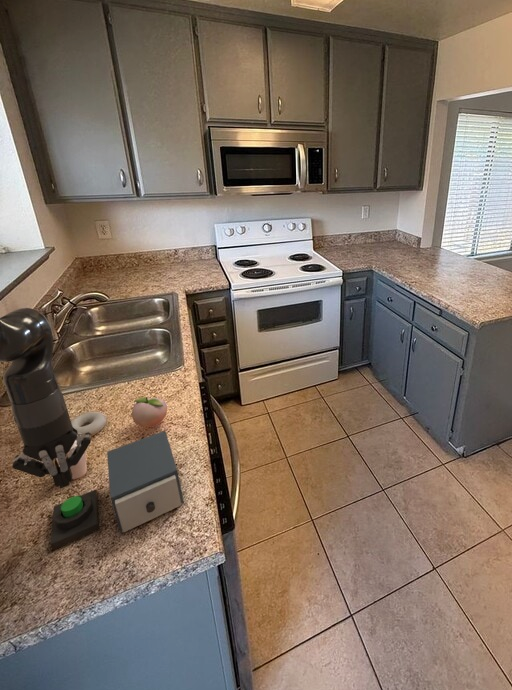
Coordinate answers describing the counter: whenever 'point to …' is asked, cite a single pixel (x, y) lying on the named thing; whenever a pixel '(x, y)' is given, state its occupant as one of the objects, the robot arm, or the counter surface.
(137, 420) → the decorative fruit
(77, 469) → the smoothie
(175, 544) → the counter surface
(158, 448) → the cabinet
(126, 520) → the drawer
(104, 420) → the donut
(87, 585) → the counter surface
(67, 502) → the button
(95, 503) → the control block
